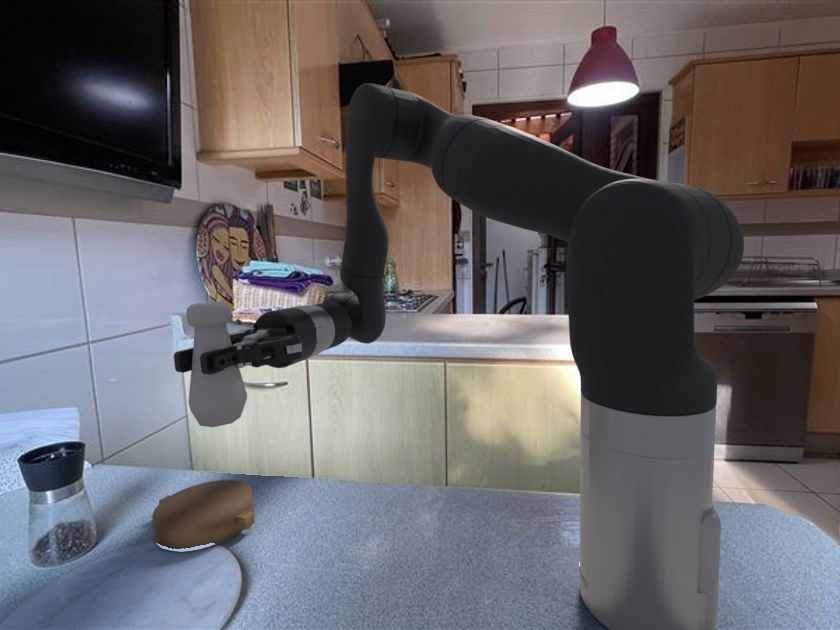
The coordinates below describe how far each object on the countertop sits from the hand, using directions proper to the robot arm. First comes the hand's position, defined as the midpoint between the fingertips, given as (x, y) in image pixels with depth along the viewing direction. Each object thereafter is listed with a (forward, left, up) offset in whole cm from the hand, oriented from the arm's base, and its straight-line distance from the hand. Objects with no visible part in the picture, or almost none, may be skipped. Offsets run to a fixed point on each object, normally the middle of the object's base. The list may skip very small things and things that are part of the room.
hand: (190, 363), depth 44 cm
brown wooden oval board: (+2, -2, -19) cm, 19 cm away
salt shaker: (0, -3, -7) cm, 8 cm away
